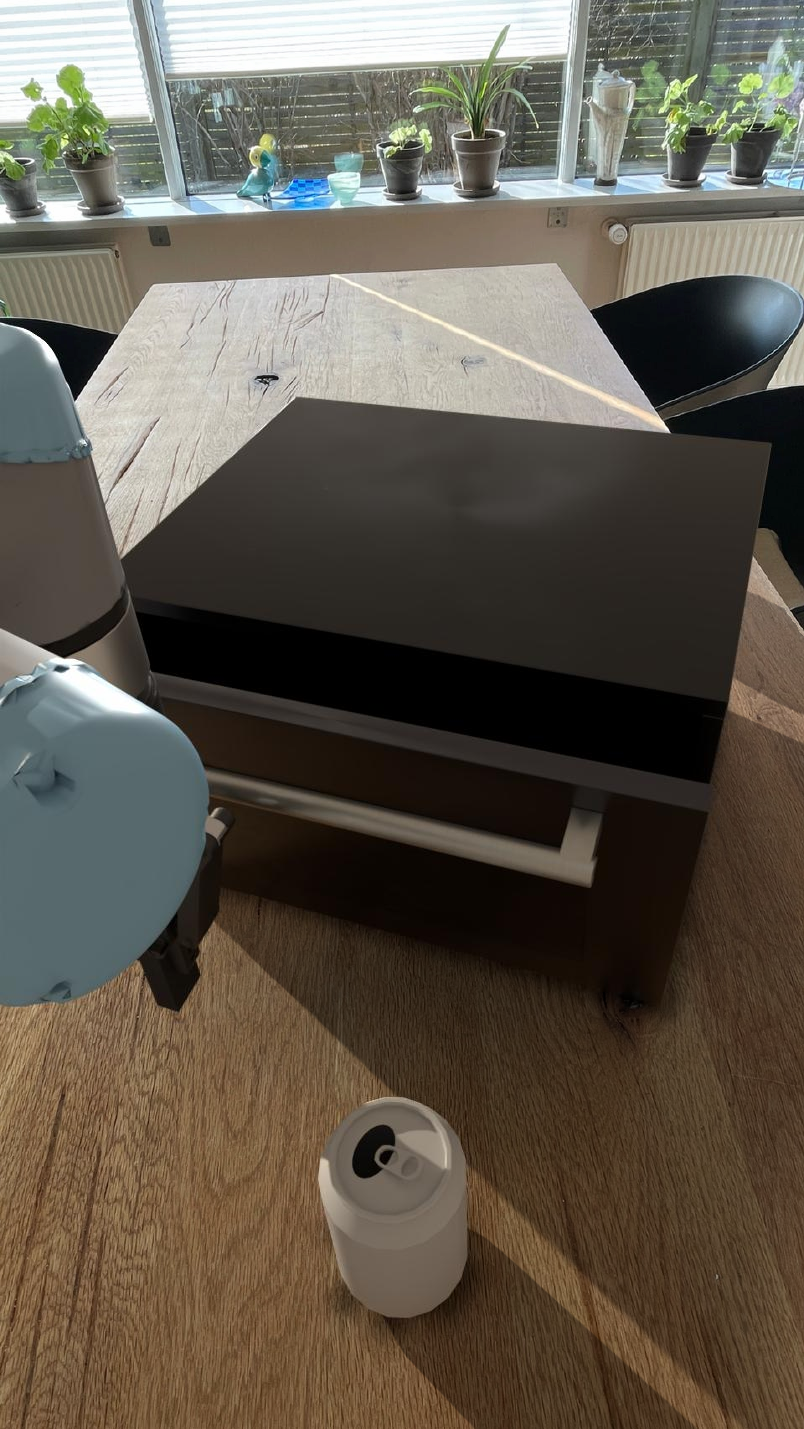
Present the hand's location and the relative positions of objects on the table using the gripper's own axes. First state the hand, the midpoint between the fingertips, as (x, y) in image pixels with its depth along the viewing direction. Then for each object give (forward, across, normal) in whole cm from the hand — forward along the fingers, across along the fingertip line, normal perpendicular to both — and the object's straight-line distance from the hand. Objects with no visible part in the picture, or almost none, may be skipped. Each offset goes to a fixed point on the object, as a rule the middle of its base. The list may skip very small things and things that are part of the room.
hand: (179, 989), depth 58 cm
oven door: (+10, -8, -13) cm, 18 cm away
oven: (+9, -8, -32) cm, 34 cm away
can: (+9, -16, +6) cm, 20 cm away
